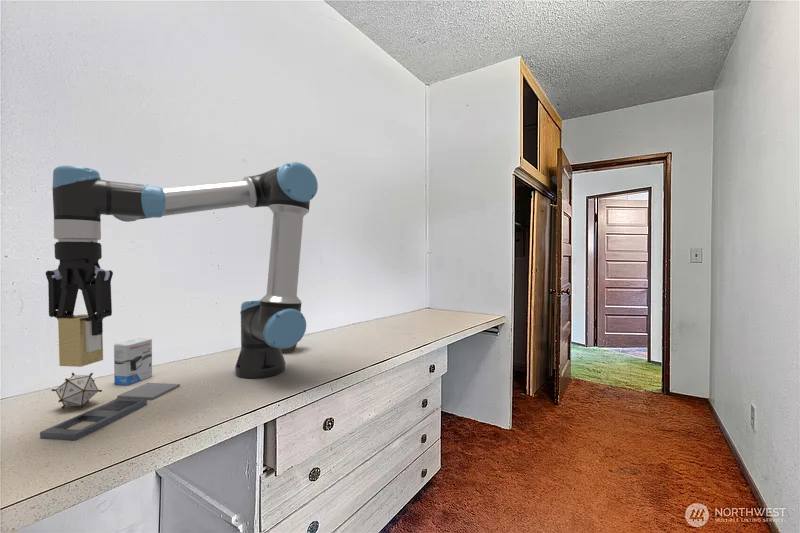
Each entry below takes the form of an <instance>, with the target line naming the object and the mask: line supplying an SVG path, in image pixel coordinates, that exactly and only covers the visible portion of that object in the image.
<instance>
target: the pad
mask: <svg viewBox="0 0 800 533" xmlns="http://www.w3.org/2000/svg"><path fill="white" fill-rule="evenodd" d="M180 387H181V384H180V383H161V382H146V383H144V384H142V385H139V386H136V387H134V388H132V389H130V390H127V391H125V392H122V393H120V394H118V395H117V396H116V399H117V398H121V399H128V398H129V399H141V400H147V399H148V400H147V401H149V400H151V401H152V400H155V399H157V398H159V397H161V396H163V395H165V394H167V393H170V392H171V391H173V390H176V389H177V388H180Z"/></svg>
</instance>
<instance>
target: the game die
mask: <svg viewBox="0 0 800 533" xmlns="http://www.w3.org/2000/svg"><path fill="white" fill-rule="evenodd" d="M93 374H94V372H91V373H89V375H85V374H84V375H81V374H80V375H77V374H75V372H72V373H71V376H70V377H69V378H67V377H66V378H65V379H64V382H63V383H61V384H60V385H59V386H58V387H57V388H52V389H50V391H52V392H56V395H57V396H58V398H59V400H58V401H57V402H58V403H62V406H61V407H60V408H61V410H63V409H64V408H65V407H80V409H81V410H83V409H84V405H85V404H86V403H88V402H89V401H90V399H91V398H93V397H94V396H95V395H96V394H97V393H98V392H99V393H101V392H103V390H102V389H99V388H98V387H97V385H96V383H95V379H93V378H92V376H93Z"/></svg>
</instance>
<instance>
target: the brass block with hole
mask: <svg viewBox="0 0 800 533" xmlns="http://www.w3.org/2000/svg"><path fill="white" fill-rule="evenodd" d="M74 315H75V314H74ZM88 318H89V317H88V314H85V313H84V314H83V313H82V314H77V315H75V316H69V317H63V318H58V319H57V322H58V323H57V325H58V327H57V330H58V331H57V332H58V354H59V355H58V356H59V357H58V360H59V363H58V364H59V367H73V368H74V367H77V368H82V367H85V366H88V365H92V364H94V363H98V362H101V361H104V347H103V346H104V344H103V343H104V342H103V340H104V338H103V333H102V334H101V349H99V350H95V351H91V352H86V331H85V321H86V319H88Z"/></svg>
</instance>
